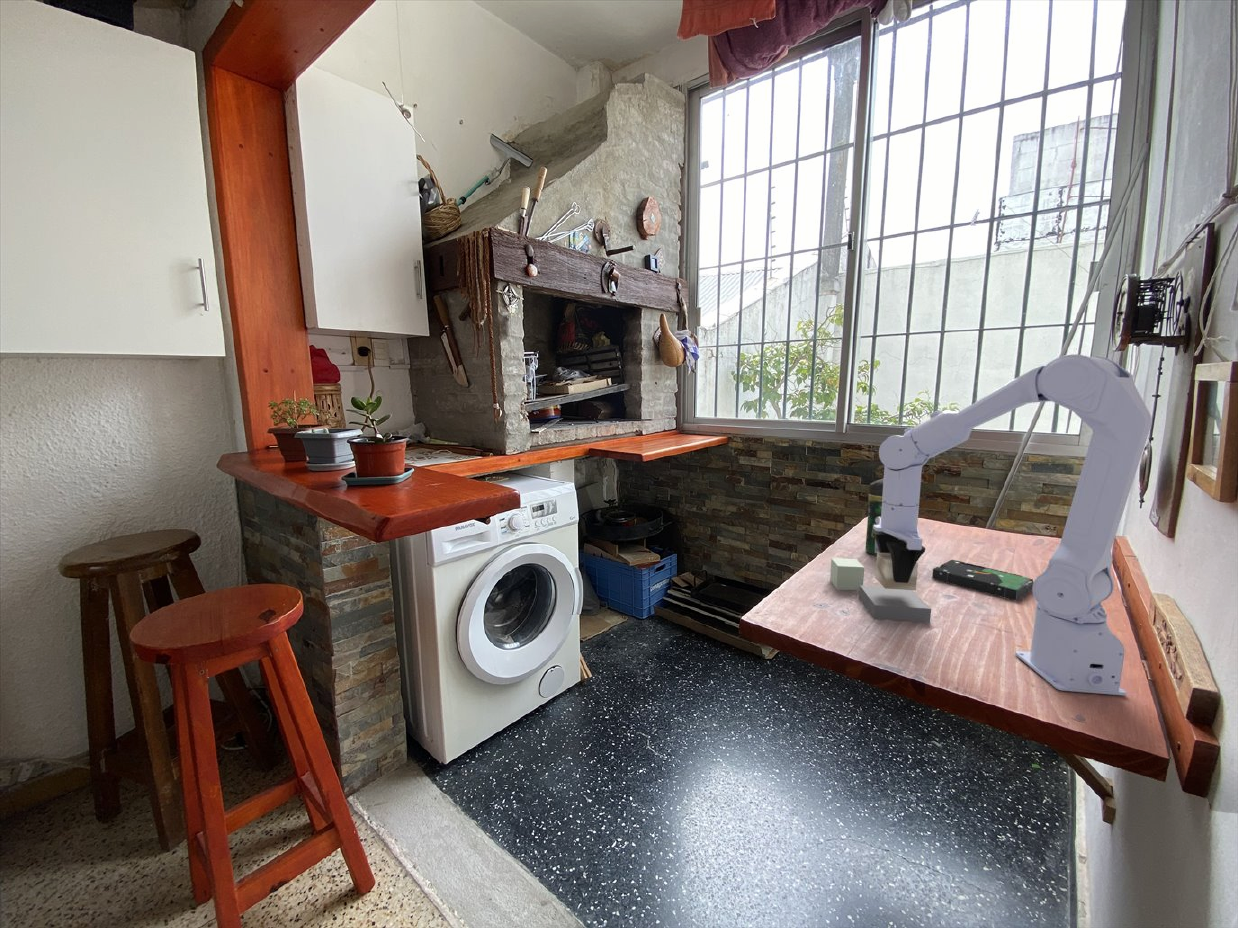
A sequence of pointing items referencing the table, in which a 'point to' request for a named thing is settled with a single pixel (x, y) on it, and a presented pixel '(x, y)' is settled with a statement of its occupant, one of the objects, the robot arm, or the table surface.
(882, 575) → the birch cube
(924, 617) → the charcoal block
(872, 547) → the coffee jar
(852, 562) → the sage cube
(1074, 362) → the robot arm
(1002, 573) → the disk drive
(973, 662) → the table surface
